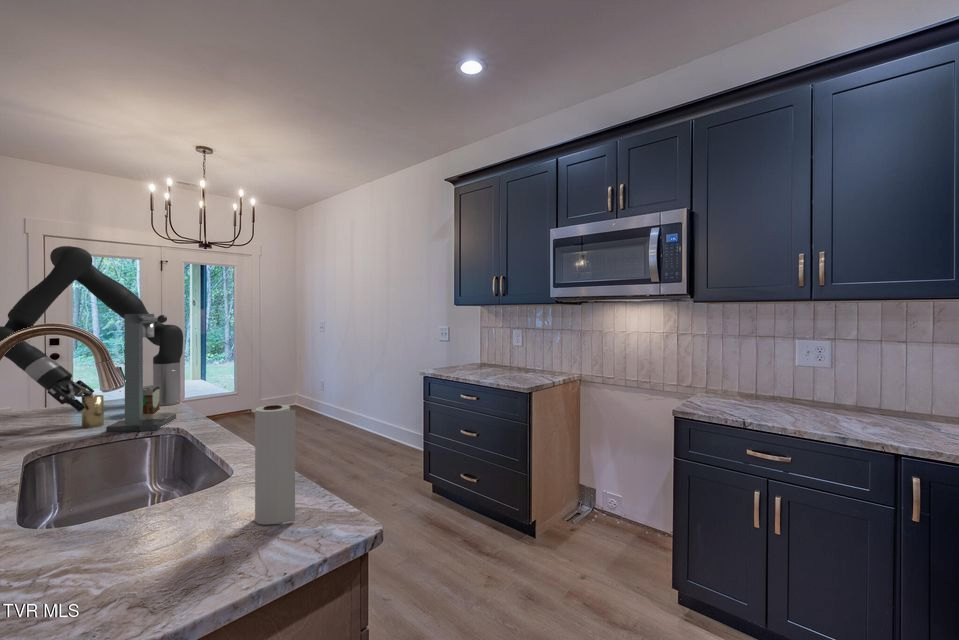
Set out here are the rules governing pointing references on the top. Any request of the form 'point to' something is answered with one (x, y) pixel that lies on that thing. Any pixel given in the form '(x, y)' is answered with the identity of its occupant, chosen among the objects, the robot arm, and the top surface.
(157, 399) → the food container
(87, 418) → the cylinder
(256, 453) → the paper towel roll
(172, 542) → the top surface
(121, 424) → the press
